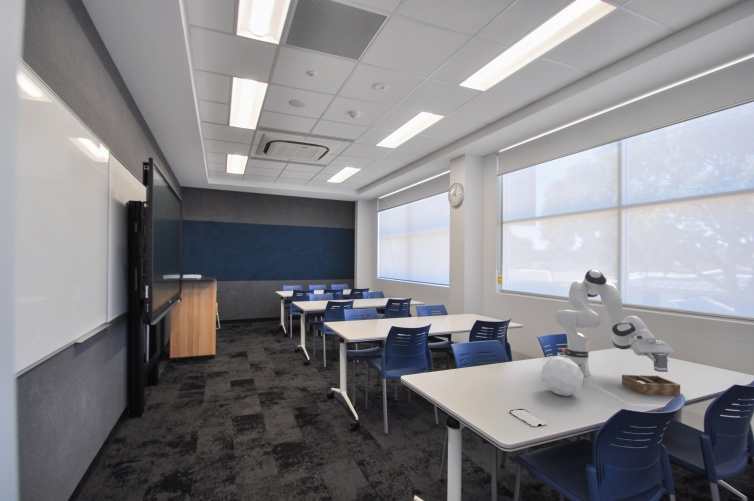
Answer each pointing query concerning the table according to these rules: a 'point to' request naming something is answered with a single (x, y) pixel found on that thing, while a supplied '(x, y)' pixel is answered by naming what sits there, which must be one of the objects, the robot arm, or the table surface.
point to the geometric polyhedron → (562, 376)
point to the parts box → (651, 385)
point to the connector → (660, 362)
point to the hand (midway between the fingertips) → (661, 361)
